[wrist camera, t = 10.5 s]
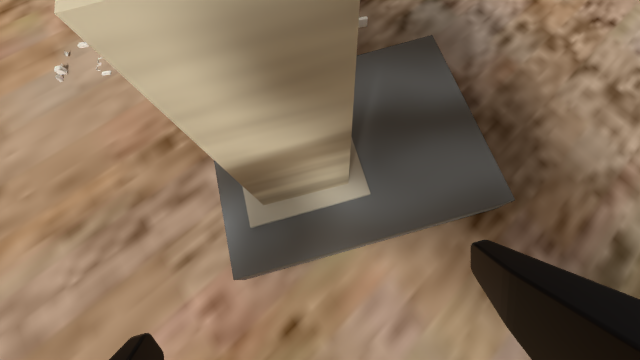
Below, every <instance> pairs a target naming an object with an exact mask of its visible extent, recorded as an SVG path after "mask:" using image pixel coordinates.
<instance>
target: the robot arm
mask: <svg viewBox="0 0 640 360" xmlns="http://www.w3.org/2000/svg"><path fill="white" fill-rule="evenodd" d="M471 269H472V272H473V274H474V276H475V277H476V279H477V280H478V282H479V284H480V285H481V287H482V288H483V290H484V292H485V293H486V295H487V297H488V298H489V300H490V301H491V303H492V305H493V306H494V308H495V309H496V311H497V313H498V314H499V316H500V317H501V319H502V320H503V322H504V323H505V325H506V326H507V328H508V329H509V330H510V332H511V333H512V334H513V336H514V337H515V338H516V340H517V341H518V342H519V344H520V345H521V346H522V347H523V349H524V350H525V351H526V353H527V354H528V355H529V357H530V358H531V359H532V360H640V299H637V298H635V297H632V296H630V295H627V294H625V293H622V292H619V291H617V290H614V289H612V288H609V287H607V286H604V285H602V284H599V283H597V282H594V281H591V280H589V279H586V278H584V277H581V276H579V275H576V274H574V273H571V272H568V271H566V270H563V269H561V268H558V267H556V266H553V265H551V264H548V263H546V262H543V261H540V260H538V259H535V258H533V257H530V256H528V255H525V254H523V253H520V252H518V251H515V250H512V249H510V248H507V247H505V246H502V245H500V244H497V243H495V242H492V241H489V240H482V241H478V242H474V243H472V245H471ZM109 360H164V354H163V351H162V350H161V348H160V347H159V345H158V344H157V342H156V341H155V340H154V338H153V337H152V336H151V334H149V333H144V334H140V335H137V336H133V337H131V338H130V339H129V340H128V341H127V342H126V343H125V344H124V345H123V346H122V347H121V348H120V349H119V350H118V351H117V352H116V353H115V354H114V355H113V356H112V357H111V358H110V359H109Z"/></svg>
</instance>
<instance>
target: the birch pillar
mask: <svg viewBox="0 0 640 360" xmlns="http://www.w3.org/2000/svg"><path fill="white" fill-rule="evenodd" d="M359 10H360V0H55V10H54V14H56V15H57V16H58V17H59V18H60V19H61V20H62V21H63V22H64V23H65V24H66V25H68V26H69V27H70V28H71V29H72V30H73V31H74V32H75V33H76V34H77V35H78V36H80V37H81V38H82V39H83V40H84V41H85V42H86V43H87V44H88V45H89V46H90V47H92V48H93V49H94V50H95V51H96V52H97V53H98V54H99V55H100V56H101V57H102V58H104V59H105V60H106V61H107V62H108V63H109V64H110V65H111V66H112V67H113V68H114V69H115V70H117V71H118V72H119V73H120V74H121V75H122V76H123V77H124V78H125V79H126V80H127V81H129V82H130V83H131V84H132V85H133V86H134V87H135V88H136V89H137V90H138V91H139V92H141V93H142V94H143V95H144V96H145V97H146V98H147V99H148V100H149V101H150V102H151V103H153V104H154V105H155V106H156V107H157V108H158V109H159V110H160V111H161V112H162V113H163V114H165V115H166V116H167V117H168V118H169V119H170V120H171V121H172V122H173V123H174V124H175V125H177V126H178V127H179V128H180V129H181V130H182V131H183V132H184V133H185V134H186V135H187V136H189V137H190V138H191V139H192V140H193V141H194V142H195V143H196V144H197V145H198V146H199V147H201V148H202V149H203V150H204V151H205V152H206V153H207V154H208V155H209V156H210V157H211V158H212V159H214V160H215V161H216V162H217V163H218V164H219V165H220V166H221V167H222V168H223V169H224V170H226V171H227V172H228V173H229V174H230V175H231V176H232V177H233V178H234V179H235V180H236V181H238V182H239V183H240V184H241V185H242V186H243V187H244V188H245V189H246V190H247V191H248V192H250V193H251V194H252V195H253V196H254V197H255V198H256V199H257V200H258V201H259V202H260V203H262V204H263V205H267V204H271V203H274V202H278V201H282V200H286V199H290V198H294V197H298V196H302V195H305V194H309V193H313V192H317V191H321V190H325V189H329V188H333V187H337V186H340V185H344V184H348V180H349V165H350V149H351V134H352V118H353V103H354V87H355V72H356V56H357V41H358V26H359Z"/></svg>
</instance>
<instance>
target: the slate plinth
mask: <svg viewBox="0 0 640 360" xmlns="http://www.w3.org/2000/svg"><path fill="white" fill-rule="evenodd" d="M214 163H215V169H216V175H217V182H218V188H219V194H220V200H221V206H222V212H223V218H224V224H225V230H226V236H227V242H228V248H229V254H230V261H231V267H232V273H233V279H234V280H246V279H250V278H253V277H257V276H260V275H264V274H267V273H271V272H274V271H278V270H281V269H285V268H288V267H292V266H295V265H299V264H302V263H306V262H309V261H313V260H316V259H320V258H323V257H327V256H330V255H334V254H338V253H341V252H345V251H348V250H352V249H355V248H359V247H362V246H366V245H369V244H373V243H376V242H380V241H383V240H387V239H390V238H394V237H397V236H401V235H404V234H408V233H411V232H415V231H418V230H422V229H426V228H429V227H433V226H436V225H440V224H443V223H447V222H450V221H454V220H457V219H461V218H464V217H468V216H471V215H475V214H478V213H482V212H485V211H489V210H492V209H496V208H499V207H501V206H503V205H505V204H508V203H510V202H512V201H514V200H515V199H514V197H513V195H512V193H511V191H510V189H509V187H508V185H507V183H506V181H505V179H504V177H503V175H502V173H501V171H500V169H499V167H498V165H497V163H496V161H495V159H494V157H493V155H492V153H491V151H490V149H489V147H488V145H487V143H486V141H485V139H484V137H483V135H482V133H481V131H480V129H479V127H478V125H477V123H476V121H475V119H474V117H473V115H472V113H471V111H470V109H469V107H468V105H467V103H466V101H465V99H464V97H463V95H462V93H461V91H460V89H459V87H458V85H457V83H456V81H455V79H454V77H453V75H452V73H451V71H450V69H449V67H448V65H447V63H446V61H445V59H444V57H443V55H442V53H441V51H440V50H439V48H438V46H437V44H436V42H435V40H434V38H433V36H432V35H431V36H427V37H423V38H420V39H416V40H412V41H409V42H405V43H401V44H398V45H394V46H390V47H387V48H383V49H379V50H376V51H372V52H368V53H365V54H361V55H357V56H356V72H355V87H354V103H353V118H352V134H351V149H350V165H349V180H348V184H344V185H340V186H337V187H333V188H329V189H325V190H321V191H317V192H313V193H309V194H305V195H302V196H298V197H294V198H290V199H286V200H282V201H278V202H274V203H271V204H267V205H263V204H262V203H260V202H259V201H258V200H257V199H256V198H255V197H254V196H253V195H252V194H251V193H250V192H248V191H247V190H246V189H245V188H244V187H243V186H242V185H241V184H240V183H239V182H238V181H236V180H235V179H234V178H233V177H232V176H231V175H230V174H229V173H228V172H227V171H226V170H224V169H223V168H222V167H221V166H220V165H219V164H218V163H217V162H216V161H215V160H214Z"/></svg>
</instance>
